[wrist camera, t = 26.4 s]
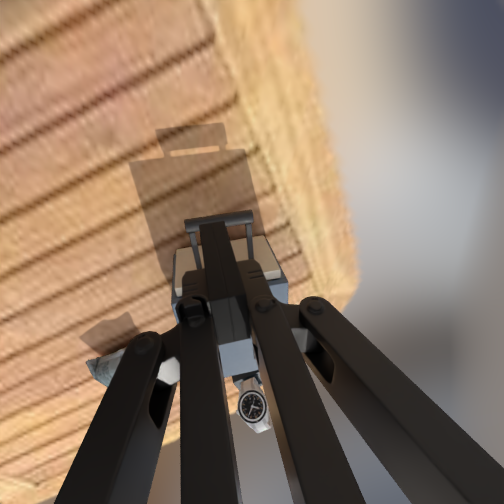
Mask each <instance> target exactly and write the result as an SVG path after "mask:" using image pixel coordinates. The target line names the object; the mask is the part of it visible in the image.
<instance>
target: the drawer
mask: <svg viewBox="0 0 504 504" xmlns="http://www.w3.org/2000/svg"><path fill="white" fill-rule="evenodd" d="M219 221H224V222H225V225H226V227H230V226H237V225H243V224H245V227H246V238H244V239H237V240H231V241H230V242H231V245H232V248H233V252H234V255H235V258H236V262H237V261H242V260H248V259H255V260H256V261H257V262H258V263H260V266H261V268H262V271H263V273H264V276H265V278H266V280H267V281H272V280H271V279H277V278H280V277H281V270H280V268H279V266H278V264H277V261H276V259H275V257H274V255H273V253H272V251H271V249H270V247H269V245H268V243H267V241H266V239H265V237H264V235H262V236H256V237H252V225H251V223H253V222H254V218H253V212H252V210H246V211H239V212H233V213H226V214H219V215H212V216H206V217H199V218H192V219H185V220H184V223H185V229H186V232H187V233H189V236H190V240H191V245H192V247H188V248H182V249H177V250H176V271H175V291H176V295H177V297H179V296H182V277H183V275H184V274H185V272H186V271H191V270H197V269H202V268H204V260H203V253H202V245H200V246H198V244H197V240H196V235H195V232H198V231H200V230H199V225H201V224H207V223H213V222H219Z"/></svg>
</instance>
